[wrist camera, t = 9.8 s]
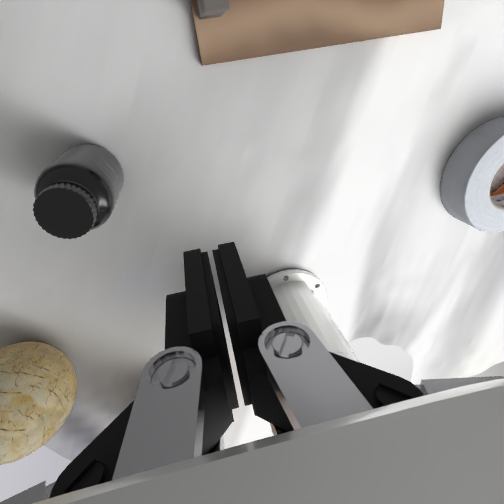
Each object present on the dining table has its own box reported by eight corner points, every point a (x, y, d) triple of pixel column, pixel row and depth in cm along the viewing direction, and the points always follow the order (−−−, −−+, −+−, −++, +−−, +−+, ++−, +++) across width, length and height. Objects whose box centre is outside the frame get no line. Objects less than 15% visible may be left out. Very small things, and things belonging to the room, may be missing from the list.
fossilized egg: (-21, 378, 49) (-88, 490, 36) (-5, 311, 45) (-76, 411, 32) (74, 392, 54) (44, 495, 41) (97, 332, 50) (71, 427, 37)
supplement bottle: (54, 140, 37) (9, 171, 27) (122, 144, 38) (104, 175, 28) (64, 201, 40) (27, 249, 30) (126, 202, 42) (111, 249, 31)
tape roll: (490, 95, 45) (525, 98, 40) (554, 144, 50) (591, 151, 46) (419, 199, 50) (442, 211, 46) (484, 232, 56) (510, 247, 52)
